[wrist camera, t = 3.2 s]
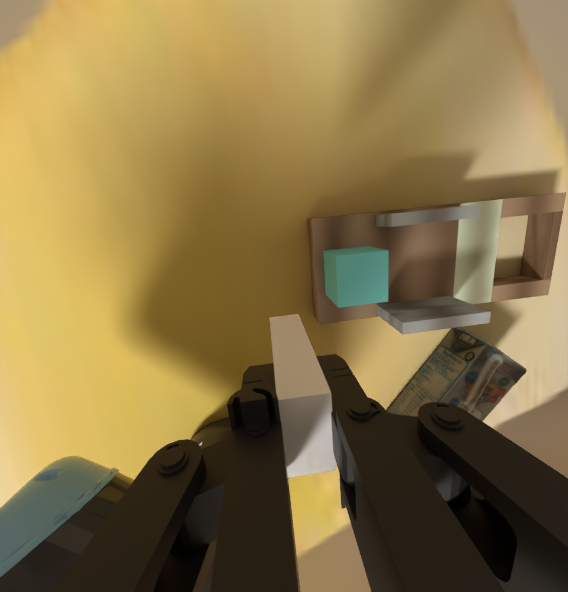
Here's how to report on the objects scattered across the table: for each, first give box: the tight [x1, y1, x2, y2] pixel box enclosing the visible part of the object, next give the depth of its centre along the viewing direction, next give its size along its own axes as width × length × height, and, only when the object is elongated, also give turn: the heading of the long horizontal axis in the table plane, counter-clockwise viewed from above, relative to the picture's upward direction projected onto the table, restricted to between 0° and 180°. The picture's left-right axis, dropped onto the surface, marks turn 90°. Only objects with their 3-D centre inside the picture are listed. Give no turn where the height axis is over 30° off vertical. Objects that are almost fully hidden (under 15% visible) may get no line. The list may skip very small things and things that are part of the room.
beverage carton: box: [387, 327, 527, 421], centre depth 36 cm, size 8×19×7 cm, turn 148°
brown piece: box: [307, 193, 566, 334], centre depth 29 cm, size 29×12×9 cm, turn 96°
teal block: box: [323, 246, 389, 308], centre depth 28 cm, size 5×5×5 cm
